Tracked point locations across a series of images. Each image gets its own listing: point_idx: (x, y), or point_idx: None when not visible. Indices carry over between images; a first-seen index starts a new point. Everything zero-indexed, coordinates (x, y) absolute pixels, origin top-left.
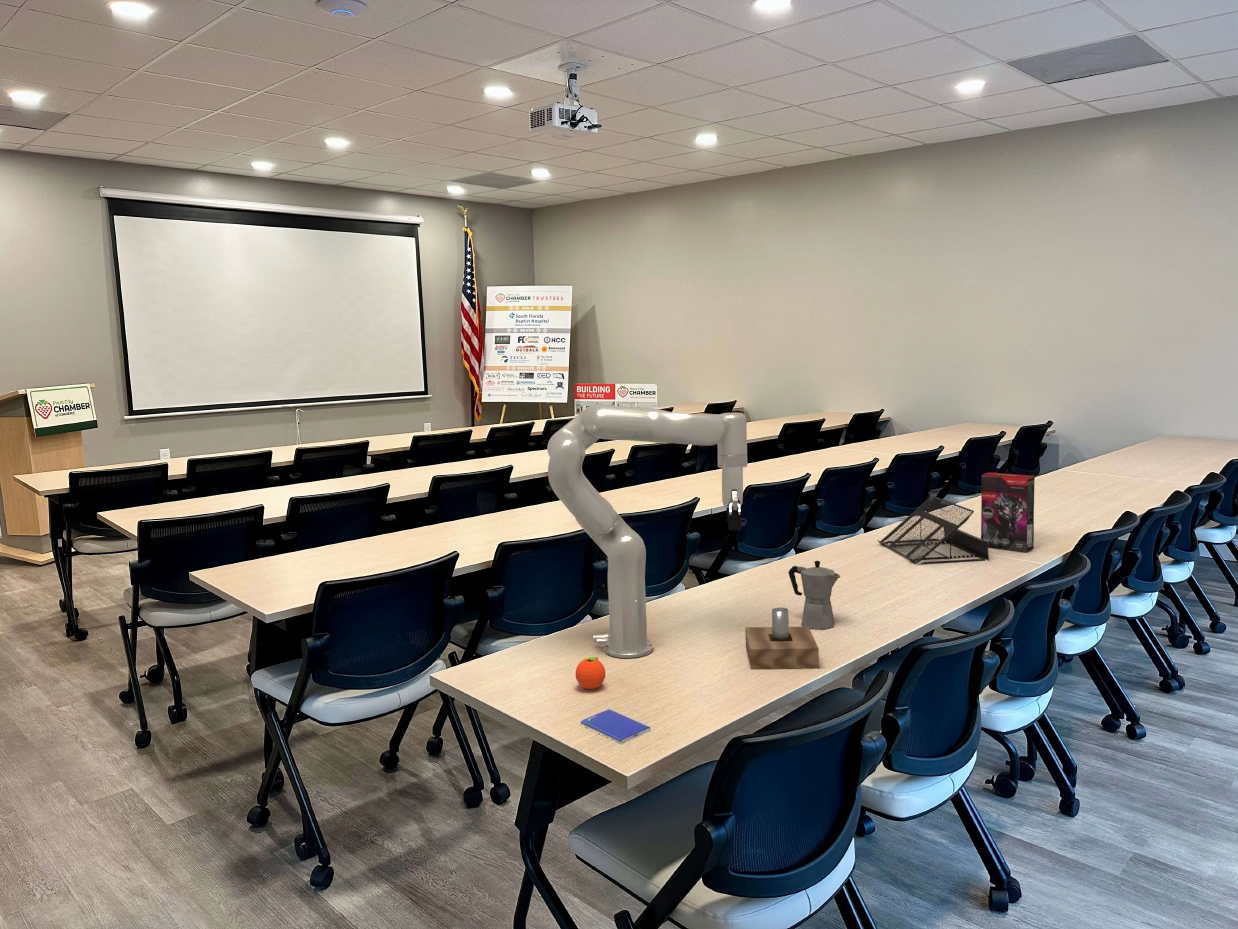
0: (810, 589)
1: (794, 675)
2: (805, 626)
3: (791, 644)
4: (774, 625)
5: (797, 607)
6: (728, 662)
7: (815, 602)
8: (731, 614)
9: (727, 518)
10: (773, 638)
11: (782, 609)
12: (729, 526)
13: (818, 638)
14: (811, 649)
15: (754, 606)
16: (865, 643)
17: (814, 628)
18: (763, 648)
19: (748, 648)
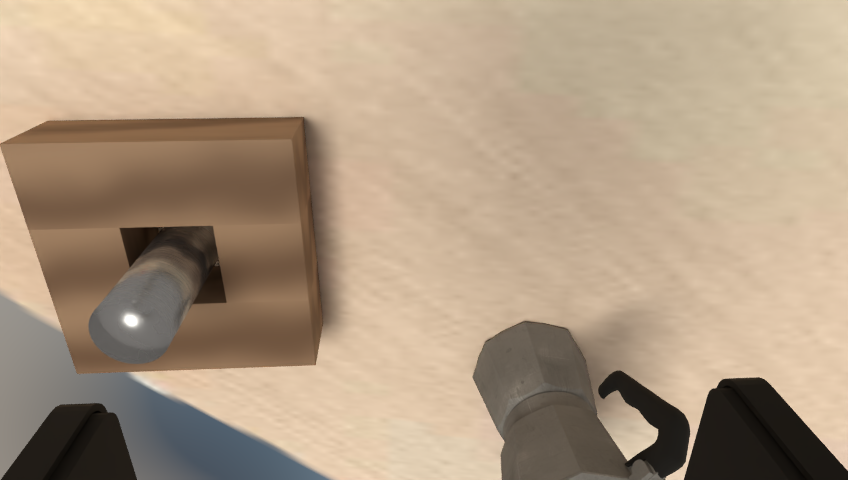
0: (516, 449)
1: (31, 259)
2: (504, 332)
3: (99, 297)
4: (125, 273)
5: (727, 325)
6: (106, 36)
7: (507, 422)
8: (711, 78)
9: (748, 434)
10: (155, 241)
11: (139, 342)
12: (31, 456)
13: (392, 355)
14: (72, 351)
15: (789, 180)
16: (348, 459)
17: (480, 355)
18: (23, 196)
19: (127, 132)
